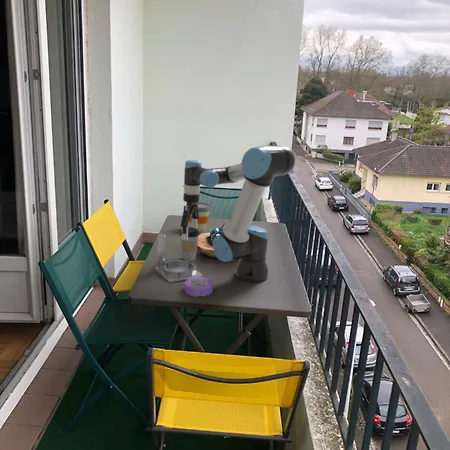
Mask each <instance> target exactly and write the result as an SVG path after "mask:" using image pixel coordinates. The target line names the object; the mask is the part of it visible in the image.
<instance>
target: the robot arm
mask: <svg viewBox="0 0 450 450" xmlns="http://www.w3.org/2000/svg"><path fill="white" fill-rule="evenodd" d="M295 165H296V157H295V154H294V152H293V150H291V149H290V148H288V147H287V146H283V145H275V146H273V145H272V146H270V145H269V146H264V145H263V146H260V145H259V146H255V147H252V148H249V149H248V150H247V151H246V152H245V153H244V154H243V156H242V158H241V162H239V163H237V164H233V165H229V166H224V167H213V168H205V167H202V162H201V160H197V159H189V160H186V161H185V163H184V174H183V175H184V178H183V185H182V187H183V192H184V193H183V196H182V197H183V202H186V205H184V206H183V211H182V217H181V221H180V222H181V223H180V224H179V225H180V227H181V228H182V229H181V231H182V236H181V239H182V240H188V228H189V226H188V225H189V224H190V221H189V220H190V216H191V215H192V217H193V218H192V224H191V227H190V228H196V229H197V219H199V210H198V202H199V201H200V192H201V186H204V187H206V188H214V187H216V186H217V185H223V184H226V185H227V184H234V183H238V182H239V181H244V182H243V185H242V187H241V190H240V193H239V196H238V199H237V202H236V204H235V207H234V209H233V212H232V215H231V217H230V220H229V223H228V224H227V225H225V226H224V227H223V229H222V232H221V234H220V235H219V234H218V235H216V236H215V237H214V238H213V240H212V250H213V252H214V255H215V257H216V258H217V259H218V260H219V261H221V262H223V263H226V262H227V263H228V262H232V261H236V260H238V263H237V266H236V267H235V271H234V275H235V277H236V278H238V279H240V280H241V281H245V282H250V283H252V282H253V283H255V282H257V283H258V282H264V281H266V280H268V278H269V269H268V265H267V261H266V259H267V251H268V242H269V238H268V236H269V232H268V230H267V229H265V228H263V227H261V226H257V225H251V224H252V222H253V220H254V217H255V214H256V213H257V210H258V207H259V204H260V203H261V200H262V198H263V195H264V192H265V190H266V188H269V187H270V186H272V183H273V181H274V179H275V177H280V176H285V175H288V174H289V173H290V172H292V171H293V169H294V167H295Z"/></svg>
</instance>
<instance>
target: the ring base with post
mask: <svg viewBox="0 0 450 450" xmlns="http://www.w3.org/2000/svg"><path fill="white" fill-rule="evenodd" d="M166 247H167V234H166V233H158V234H157V260H156V261H157V262H156V263H157V264H156V265H157V266H155V270H156V271H157V272H158V273H159V274H160V275H161V276H162V277H163V278H164V279H165V280H167V282H169V283H174V282H175V283H176V282H180V281H186V280H188V279H190V278H195V277H202V278H203V274H202V273H201V272H199V271H198V270H197V265H196V264H194V263H193V261H185V260H184V259H173V260H166V257H167V256H166V254H167V253H166V252H167V251H166V250H167V248H166Z"/></svg>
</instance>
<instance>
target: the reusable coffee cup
mask: <svg viewBox="0 0 450 450" xmlns="http://www.w3.org/2000/svg"><path fill="white" fill-rule="evenodd" d="M198 210H199V219H197V229H198V232H199V233H200V232H201V233H202V232H205V231H206V230H207V226H208V225H207V224H208V222H209V217H210V214H209V213H210V211H211V207H210V204H209V203H205V202H201V201H200V202H198ZM192 218H193V217H192V215H191V216H190V220H189V226H190V227H189V228H191V224H192Z"/></svg>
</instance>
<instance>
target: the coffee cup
mask: <svg viewBox="0 0 450 450" xmlns="http://www.w3.org/2000/svg"><path fill="white" fill-rule="evenodd" d="M179 234H180V236H181V237H182V230H181V231H180V233H179ZM199 236H200V232H198V229H196V228H191V227H188V240H182V238H181V239H180V240H181V250H182V251H181V252H182V260H185V261H190V262H193V261H195V260H196V257H197V256H196V255H197V249H198V245H199Z"/></svg>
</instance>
